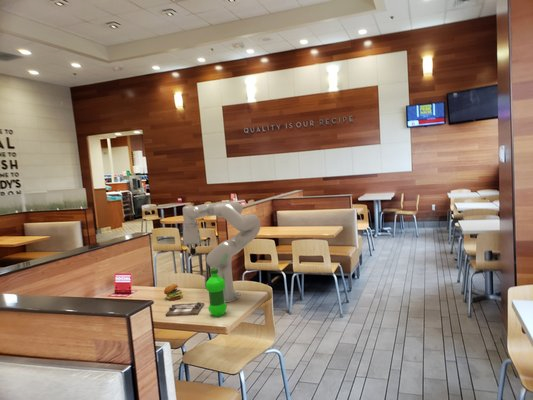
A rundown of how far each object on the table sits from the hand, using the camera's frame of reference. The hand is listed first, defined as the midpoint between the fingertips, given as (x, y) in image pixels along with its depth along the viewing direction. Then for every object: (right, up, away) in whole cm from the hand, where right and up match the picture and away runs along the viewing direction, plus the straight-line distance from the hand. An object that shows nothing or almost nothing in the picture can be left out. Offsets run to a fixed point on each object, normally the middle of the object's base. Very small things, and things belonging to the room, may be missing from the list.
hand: (193, 254), depth 243 cm
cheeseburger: (-13, -28, +4) cm, 31 cm away
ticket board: (-1, -29, -21) cm, 36 cm away
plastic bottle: (+20, -28, -31) cm, 47 cm away
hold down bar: (-1, -27, -21) cm, 34 cm away
